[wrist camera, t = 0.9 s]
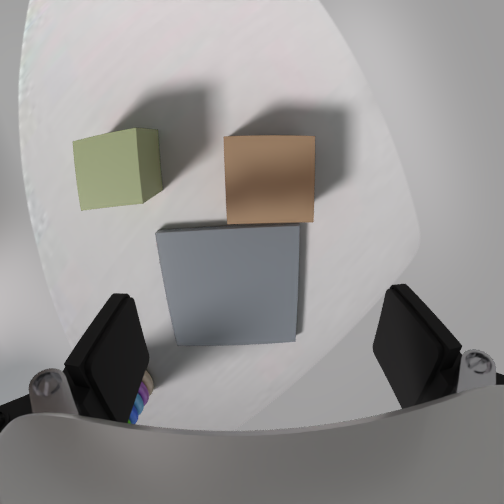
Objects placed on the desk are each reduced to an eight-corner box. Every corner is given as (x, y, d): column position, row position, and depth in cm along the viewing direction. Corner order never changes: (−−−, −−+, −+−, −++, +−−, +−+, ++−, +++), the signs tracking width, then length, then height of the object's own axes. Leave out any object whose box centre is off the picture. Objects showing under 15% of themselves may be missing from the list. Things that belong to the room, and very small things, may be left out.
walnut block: (227, 137, 25) (223, 136, 20) (302, 136, 25) (314, 136, 21) (230, 209, 28) (227, 224, 23) (301, 208, 28) (313, 222, 23)
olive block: (103, 139, 24) (72, 141, 19) (158, 129, 24) (135, 127, 19) (109, 196, 27) (81, 210, 21) (163, 190, 27) (143, 203, 21)
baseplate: (158, 230, 28) (155, 233, 27) (297, 222, 28) (299, 225, 27) (178, 340, 33) (177, 345, 32) (294, 336, 33) (295, 341, 32)
